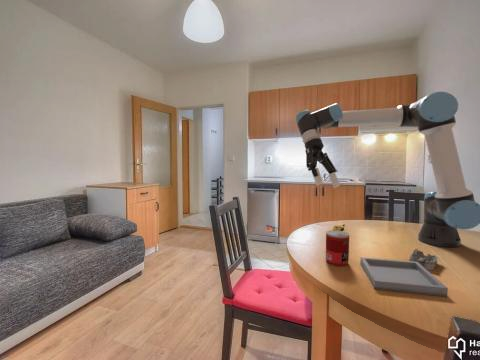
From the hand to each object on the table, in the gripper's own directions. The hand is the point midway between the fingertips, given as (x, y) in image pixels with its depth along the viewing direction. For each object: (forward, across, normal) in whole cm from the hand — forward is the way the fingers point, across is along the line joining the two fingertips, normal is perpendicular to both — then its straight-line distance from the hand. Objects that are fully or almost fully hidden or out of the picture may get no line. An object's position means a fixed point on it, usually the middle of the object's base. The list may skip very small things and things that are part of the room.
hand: (328, 185), depth 100 cm
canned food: (+29, +4, -6) cm, 30 cm away
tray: (+38, +1, +12) cm, 39 cm away
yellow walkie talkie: (+13, -40, -22) cm, 48 cm away
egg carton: (+36, -17, +15) cm, 43 cm away
